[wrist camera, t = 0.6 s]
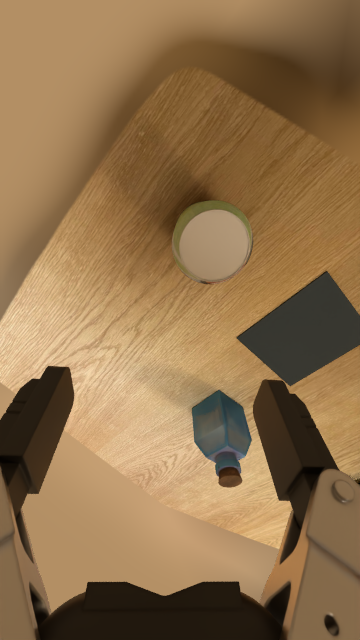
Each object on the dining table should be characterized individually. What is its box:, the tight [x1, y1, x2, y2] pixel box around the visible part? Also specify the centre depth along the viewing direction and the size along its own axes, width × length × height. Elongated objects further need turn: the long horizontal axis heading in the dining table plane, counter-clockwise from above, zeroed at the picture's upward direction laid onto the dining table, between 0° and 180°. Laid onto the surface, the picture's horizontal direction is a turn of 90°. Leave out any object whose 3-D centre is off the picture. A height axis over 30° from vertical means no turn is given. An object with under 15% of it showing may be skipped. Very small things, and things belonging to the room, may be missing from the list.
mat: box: [237, 271, 360, 386], centre depth 37 cm, size 14×14×1 cm
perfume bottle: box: [192, 390, 252, 487], centre depth 40 cm, size 6×6×12 cm
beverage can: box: [172, 200, 253, 284], centre depth 23 cm, size 6×7×12 cm
